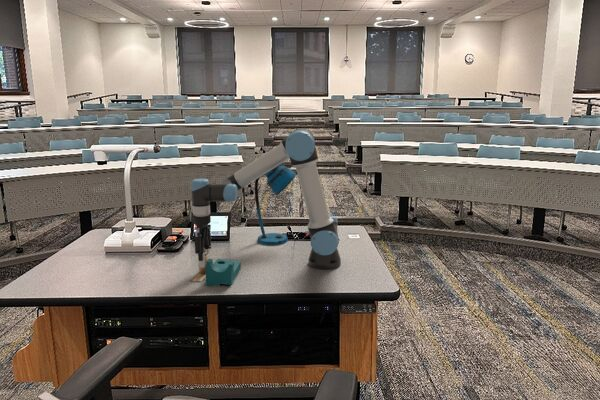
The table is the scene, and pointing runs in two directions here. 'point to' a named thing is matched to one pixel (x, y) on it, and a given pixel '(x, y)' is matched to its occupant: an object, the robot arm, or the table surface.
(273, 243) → the desk lamp
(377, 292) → the table surface
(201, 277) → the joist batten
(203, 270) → the awl
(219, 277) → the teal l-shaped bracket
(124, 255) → the table surface
